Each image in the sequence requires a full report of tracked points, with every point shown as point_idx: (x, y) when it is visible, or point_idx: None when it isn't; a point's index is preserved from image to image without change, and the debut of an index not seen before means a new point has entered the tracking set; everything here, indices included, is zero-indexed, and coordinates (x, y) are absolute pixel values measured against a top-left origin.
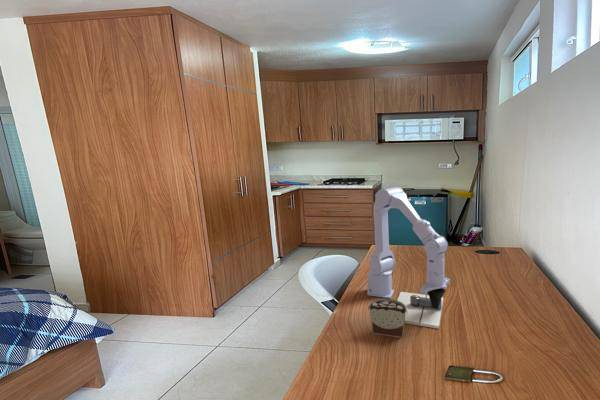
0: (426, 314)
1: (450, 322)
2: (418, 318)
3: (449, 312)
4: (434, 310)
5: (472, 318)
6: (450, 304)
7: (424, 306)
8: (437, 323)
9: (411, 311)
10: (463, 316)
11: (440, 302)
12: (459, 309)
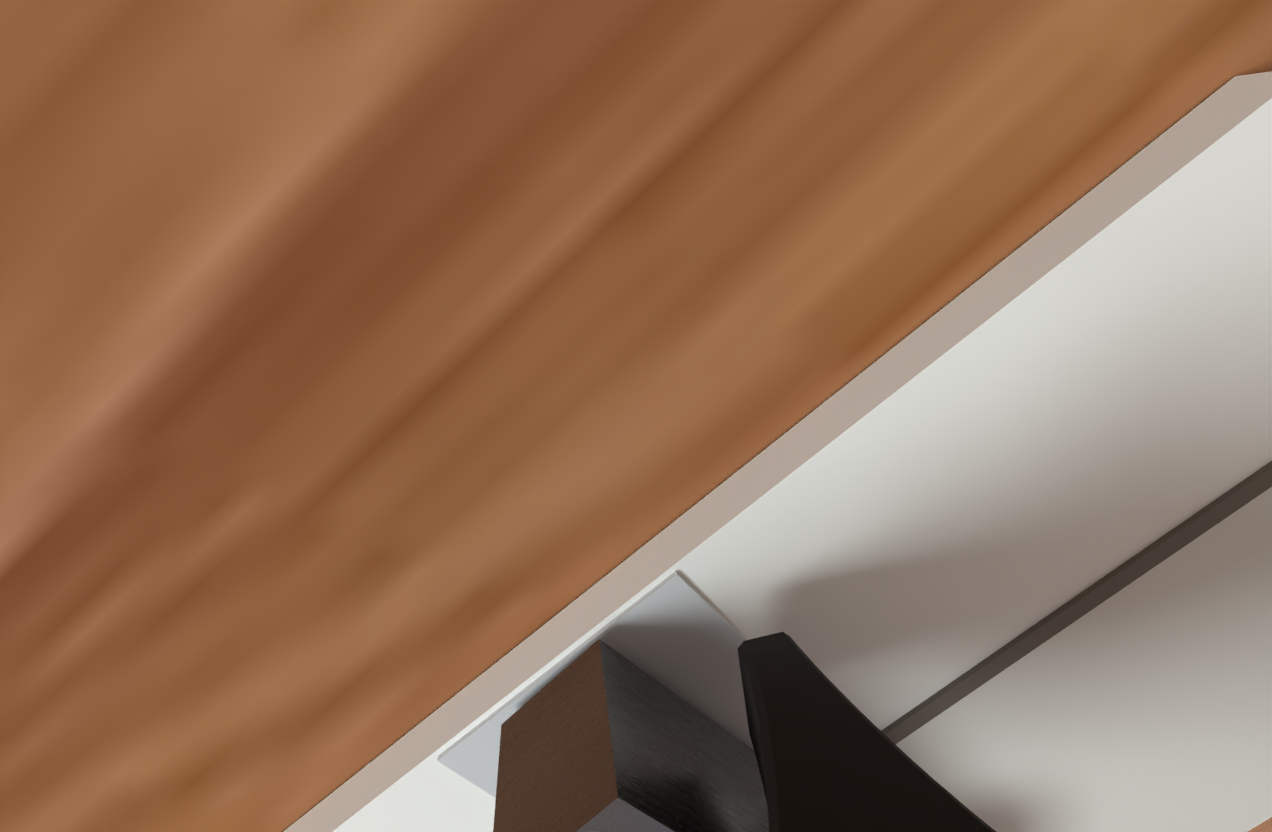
0: (1009, 581)
1: (793, 166)
2: (1246, 522)
3: (437, 523)
4: None
5: (78, 4)
6: (150, 763)
7: None
8: (1220, 180)
9: (1086, 744)
10: (261, 234)
11: (638, 789)
12: (101, 542)
